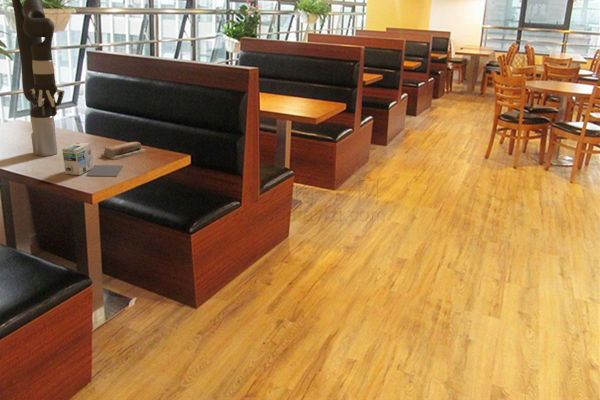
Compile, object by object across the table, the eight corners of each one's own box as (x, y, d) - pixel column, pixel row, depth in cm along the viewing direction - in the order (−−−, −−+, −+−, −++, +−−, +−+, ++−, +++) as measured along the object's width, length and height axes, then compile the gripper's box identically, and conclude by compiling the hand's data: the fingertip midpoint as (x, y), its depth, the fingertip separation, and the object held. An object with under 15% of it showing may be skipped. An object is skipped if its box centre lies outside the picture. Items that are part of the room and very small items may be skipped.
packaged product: (114, 150, 248) (100, 146, 253) (115, 160, 249) (101, 156, 255) (146, 142, 262) (132, 138, 267) (146, 152, 263) (132, 148, 269)
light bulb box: (79, 175, 226) (76, 149, 223) (64, 174, 228) (61, 148, 224) (94, 167, 236) (91, 142, 232) (79, 166, 237) (76, 141, 234)
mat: (86, 176, 227) (86, 175, 227) (94, 165, 240) (94, 165, 240) (116, 176, 228) (116, 175, 228) (123, 166, 241) (123, 165, 241)
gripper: (21, 72, 212) (26, 117, 218) (59, 73, 214) (64, 118, 220) (28, 69, 219) (33, 113, 225) (65, 71, 221) (69, 114, 227)
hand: (48, 115), depth 223 cm, fingers open, 3 cm apart
